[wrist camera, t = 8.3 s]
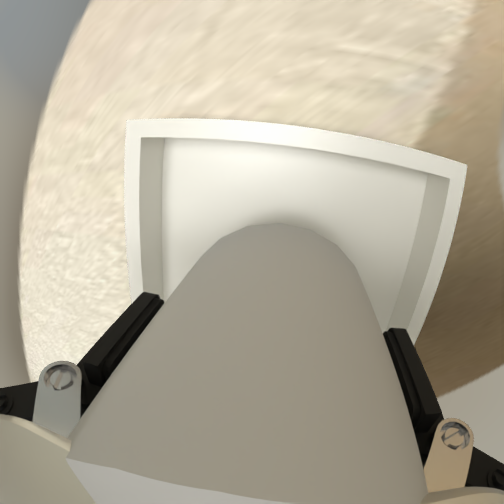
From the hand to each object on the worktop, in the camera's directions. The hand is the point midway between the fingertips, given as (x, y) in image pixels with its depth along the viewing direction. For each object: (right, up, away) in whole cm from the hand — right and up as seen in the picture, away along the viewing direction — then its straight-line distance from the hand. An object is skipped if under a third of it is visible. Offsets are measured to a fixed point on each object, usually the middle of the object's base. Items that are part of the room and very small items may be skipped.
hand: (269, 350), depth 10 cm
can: (+1, +1, +3) cm, 4 cm away
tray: (+1, +2, +6) cm, 6 cm away
